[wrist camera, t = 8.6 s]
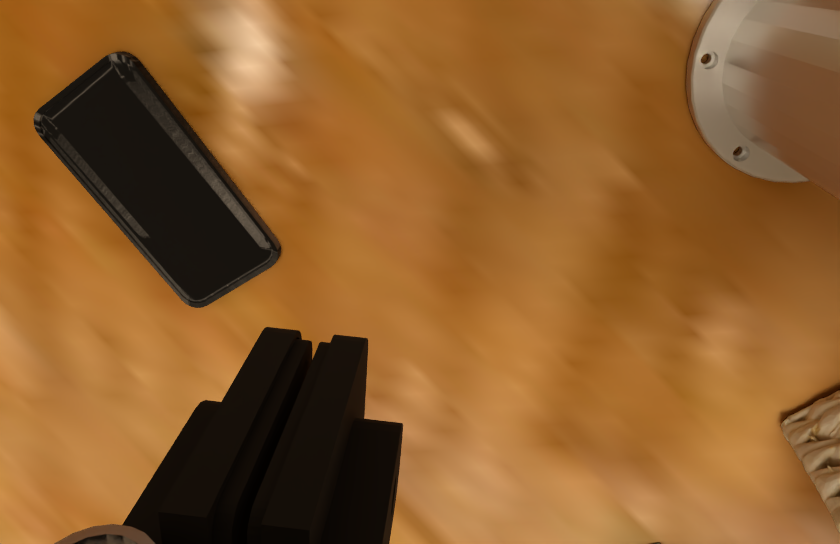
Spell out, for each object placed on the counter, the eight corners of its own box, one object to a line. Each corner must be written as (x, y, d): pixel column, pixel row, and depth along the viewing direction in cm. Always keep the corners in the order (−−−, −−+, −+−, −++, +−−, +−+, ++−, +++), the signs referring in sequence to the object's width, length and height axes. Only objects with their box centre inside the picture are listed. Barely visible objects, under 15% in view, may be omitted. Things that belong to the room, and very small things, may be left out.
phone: (119, 44, 36) (285, 258, 41) (129, 42, 37) (289, 251, 42) (24, 120, 38) (191, 314, 43) (35, 116, 39) (198, 306, 44)
